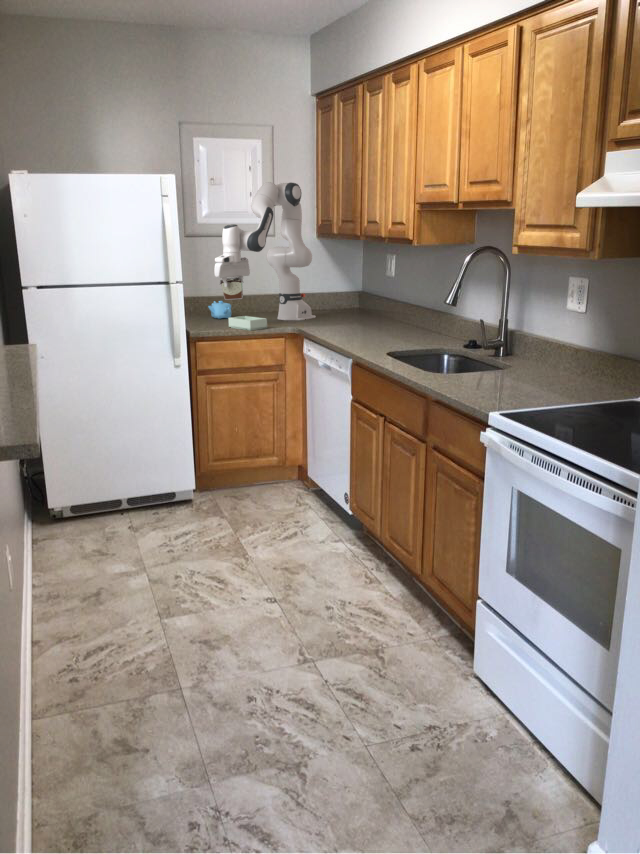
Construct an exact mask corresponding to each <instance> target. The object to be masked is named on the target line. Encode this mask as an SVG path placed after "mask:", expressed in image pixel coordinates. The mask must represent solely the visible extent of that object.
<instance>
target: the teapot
mask: <svg viewBox="0 0 640 854" xmlns="http://www.w3.org/2000/svg"><path fill="white" fill-rule="evenodd" d="M207 307H208V309H209V311H210V316H211V317H212V318H214V319H217V320H222V319H225V320H228V318H231V317H232V304H231V303H229V302H228V303H227V302H224V301H223V300H218V302H216V301H215V300H214V301H213V303H211V305H208V306H207Z"/></svg>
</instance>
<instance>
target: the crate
mask: <svg viewBox="0 0 640 854" xmlns="http://www.w3.org/2000/svg"><path fill="white" fill-rule="evenodd" d="M227 320H228V328H229V327H231V328H230V329H234V330H235V329H236V330H243V331H249V332H251V331H258V330H265V329H268V318H265V317H258V316H249V315H242V316H231V317H229V318H228V319H227Z"/></svg>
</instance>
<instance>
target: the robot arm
mask: <svg viewBox="0 0 640 854" xmlns="http://www.w3.org/2000/svg"><path fill="white" fill-rule="evenodd" d="M301 199H302V189H301V187H300V185H299V184H298V183H295V182H283V183H281V182H280V183H279V184H275V183H273V182H271V181H267V182H263V184H262V185H261V186H260V187H259V189H258V190H257V191H256V193H255V195H254V196H253V198H252V200H251V203H250V208H251V212H252V213H253V214H254V216H256V217H257V218H259V219H260V221H259V223H258V226H257V228H256V229H255V230H251V231H250V230H248V231H246V230H243V229H241V228H240V227H239V225H238V224H227V225H225V226H223V229H222V232H221V233H222V234H221V235H222V236H221V237H222V238H221V239H222V240H221V241H222V242H221V243H222V247H223V248H222V249H223V250H222V254H221V255H219V256H217V257H215V258H214V262H215V264H214V269H213V270H214V271H213V272H214V277H215V278H216V279H221V280H223V282H224V286H225V287H229V283H227V281H226V280H227V278H233V277H240V278H242V280H243V279H244V277H249V276H250V274H251V269H250V265H249V259H248V258H247V257H242V256H241V255H242V253H241V251H246V252H257V253H260V252H262V251H263V250H264V248H265V247H266V243H267V239H268V235H269V234H268V233H269V232H270V229H271V226H272V223H273V219H274V210H273V209H274V207H276V206H278V207H279V206H281V208H282V209H281V210H282V213H281V221H280V235H281V236H282V238H283V239H284V240H286V241H288V243H289V244H288V246H275V247H271V248H269V249H268V251H267V252H266V261H267V264H268V265H269V266H271V267H272V268H273V270H274V271H275V273H276V275H277V277H278V284H279V292H278V300H279V305H278V312H277V313H278V315H277V318H276V320H282V321H304V320H305V319H306V320H310V319H311V320H312V319H315V318H316V317H317V316H316V315H313V314H312V307H311V306H310V305H309V304H308V303H307V302H305V301H304V300H303V298H305V297H306V293H301V291H300V289H301V287H300V286H301V285H300V284H301V283H300V282H301V281H300V278H299V277H298V275H296V274H294V273H293V272H292V270H291V268H299V269H300V268H305V267H308V266H310V265H311V264H312V261H313V253H312V251H311V250H310V248H309V247H307V246H306V244H305V242H304V240H303V237H302V236H303V235H302V225H303V224H302V219H303V214H302V213H303V212H302V211H303V210H302V204H301V203H300V202H301ZM243 281H244V280H243Z"/></svg>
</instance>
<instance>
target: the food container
mask: <svg viewBox="0 0 640 854" xmlns="http://www.w3.org/2000/svg"><path fill="white" fill-rule="evenodd" d="M226 281H227V283H229V287H225V286H224V282H223V280H222V279H220V280H219V285H220V287H221V290H222V294H223V297H224V300H225V301H230V300H242V299H243V298H244V297H243V295H244V293H243V283H244V280H242V278H240V277H227V280H226Z"/></svg>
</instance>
